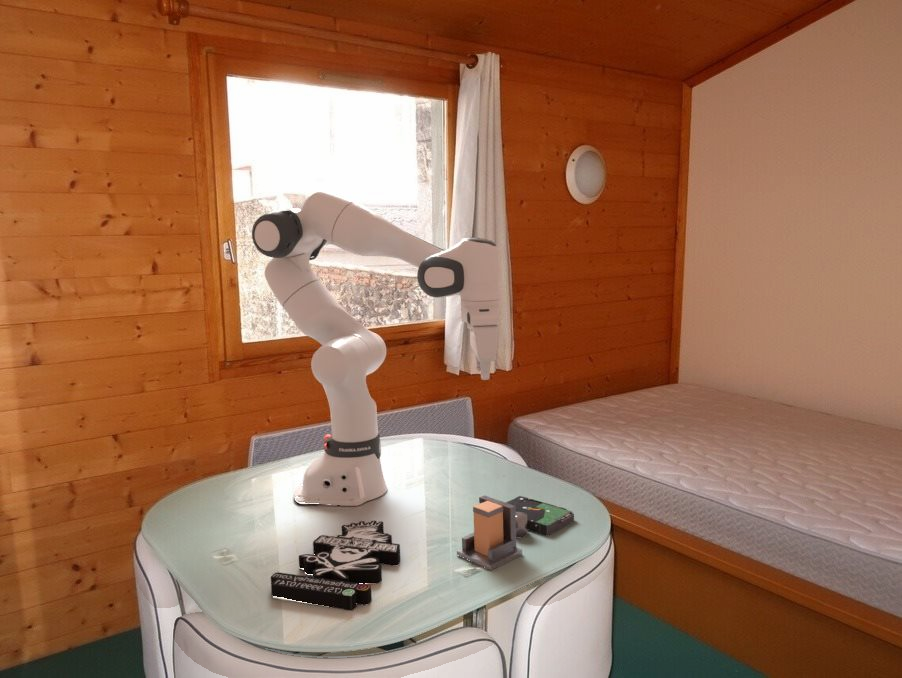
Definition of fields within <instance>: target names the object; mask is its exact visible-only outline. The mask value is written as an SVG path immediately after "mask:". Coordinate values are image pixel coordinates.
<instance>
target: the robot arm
mask: <svg viewBox="0 0 902 678" xmlns="http://www.w3.org/2000/svg"><path fill="white" fill-rule="evenodd" d="M251 238H252V243H253V245H254V247H255V248H256V249H257V252H260V254H262V255H264V256H266V257H269V258H272V259H271V260H269V262H268V263H267V264H266V266H265V268H264V278H265V280H266V282H267V284H268V286H269V287H270V289H271V291H272V293H273V295H274V297H275V298H276V300H277V301H278V302H279V303H278V304H280V306H282V308H283V310H284V311H285V312H286V313H287V315H288V316H289V317H290V319H291V320H292V321H293V322H294V324H295V325H296V327H297V328H298V329H299V330H300V331H301V333H302V334H303V335H305V336H307V337H309V338H311V339H313V340H315V341H317V342H318V343H319V344H320V345H321V346H320V347H319V348H318V349H317V350H316V351H315V352H314V353H313V355H312V358H311V361H310V362H311V363H310V367H311V372H312V375H313V376H314V378H315V380H316V381H318V382H319V384H321V385H322V387H323V389H324V390H323V391H324V392H325V395H326V398H327V401H328V406H329V410H330V423H331V424H330V425H331V434H329V433H328V434H326V435H325V436H324V438H323V450H324V453H323V454H321V455H319V457H317V458H316V459H315V460H314V461H313V462H311V463H310V464H309V465H308V467H306V470H305V472H304V474H303V479H302V483H301V484H303V486H300V485H301V484H299V485H298V486H297V487H296V488H295V490H294V493H293V498H294V497H296V496H298V497H300V498H296V500H297V501H298V502H305V503H319V504H331V505H330V506H337V505H340V507H341V506H346V507H348V506H349V507H351V506H352V507H357V506H360V505H363V504H364V503H366V502H368V501H372V500H374V499H378V498H379V497H381V496H383V495H384V494H386V493H387V491H388V486H387V484H386V481H385V476H384V473H383V469H382V463H381V456H382V455H381V454H382V443H381V437H380V436H381V435H380V433H379V430H378V428H379V427H378V414H377V413H378V412H377V411H378V410H377V403H376V401H375V400H374V398H372V397H371V395H370V392H369V388H368V385H367V376H368V375H371V374H373V373H374V372H375V371H377V370H378V369H379V368H380V367H381V365H382V364H383V363H384V362H385V359H386V357H387V346H386V343H385V341H384V340H383V338H382V337H381V336H380V335H379V334H377V333H375V332H373V331H372V330H369V329H368V328H366V327H365V325H363V324H362V323H361V322H360V321H358V319H356V318H355V317H353V316H352V315H351V314H350V313H349V312H348V311H347V310H345V308H344V307H343V306H342V305H341V304H340V303H339V302H338V301H337V299H336V298H335V297H334V296H333V294H332V293H331V292H330V291H329V289H328V288H327V287H326V285H324V283H323V282H322V281H321V280H320V278H319V276H317V275H316V273H315V272H314V270H313V269H312V267H311V264H310V261H313V260H315V259H316V258H317V257H318V256H319V254H320V252H321V250H322V249H323V248H324V246H325V245H326V243H327V242H328V243H331V244H333V245H334V246H336V247H337V248H339V249H341V250H343V251H346V252H348V253H352V254H354V255H357V256H360V257H361V256H362V257H385V258H386V257H387V258H395V259H398V260H401V261H403V262H406V263H408V264H410V265H412V266H413V267H416V268H418V270H417V273H416V274H417V275H416V276H417V277H416V278H417V283H418V286H419V288H420V289H421V290H422V292H423V293H425V295H427V296H429V297H432V298H437V299H443V298H447V297H453V296H455V295H458V296H460V313H461V314H460V315H461V319H460V320H461V321H462V322H464V323H466V326H467V329H468V330H469V341H470V342H469V343H470V347H471V349H472V351H473V353H474V355H475V362H476V363H475V364H476V370H477V371H478V372H480V379H481V380H482V381H487V380H490V377H491V376H490V375H491V374H490V373H491V366H492V363H493V362H495V361H496V360H497V354H498V353H497V352H498V341H499V340H498V339H499V326H500V325H502V319H503V318H502V317H503V315H502V314H503V313H502V312H503V311H502V307H503V306H502V305H503V304H502V295H501V291H500V285H501V280H502V272H501V271H502V270H501V267H502V266H501V259H500V257H501V256H500V252H499V247H498V245H497V244H496V243H495V242H494V241H493V240H490V239H488V238H487V239H486V238H481V237H473V236H468V237H464V238H462V239H461V241H459V242H458V243H457V244H455V245H454V246H452V247H449V248H448V249H443V248H441V247H438V246H436V245H434V244H432V243H429V242H427V241H425V240H423V239H421V238H419V237H417V236H415V235H413V234H411V233H409V232H407V231H405V230H403V229H402V228H400V227H398V226H397V225H395V224H394V223H392V222H390V221H388V220H387V219H385V218H384V217H382V216H381V215H379V214H378V213H377V212H374V211H373V210H371V209H370V208H368V207H366V205H363V204H362V203H359V202H357V201H355V200H353V199H351V198H349V197H347V196H345V195H342V194H339V193H337V192H334V191H329V190H325V189H319V190H318V189H317V190H315V191H313V192H311V193H310V194H309V195H308V196H307V198H306V199H305V200H304V202H303V204H302V207H301V208H288V209H287V208H286V209H283V210H282V209H281V210H273V211H269V212H266V213H265V214H263V215H260V216H259V217H258V218H257V219H256V220H255V221H254V223H253V226H252V230H251ZM294 495H295V496H294Z"/></svg>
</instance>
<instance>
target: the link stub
mask: <svg viewBox="0 0 902 678" xmlns="http://www.w3.org/2000/svg"><path fill="white" fill-rule="evenodd" d="M528 531H529V530H528V529H527V514H525V513H523V512H516V537H522V538H525V537H527V536H528ZM526 535H527V536H526ZM524 536H525V537H524Z"/></svg>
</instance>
